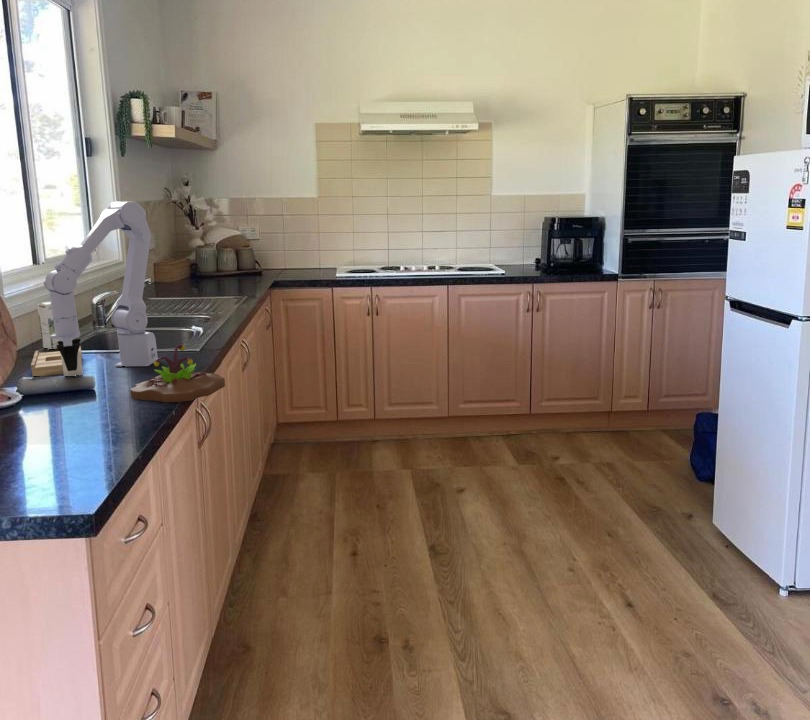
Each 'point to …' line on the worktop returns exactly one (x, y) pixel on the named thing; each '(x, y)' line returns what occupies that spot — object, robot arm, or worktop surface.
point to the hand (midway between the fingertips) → (72, 368)
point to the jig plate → (48, 363)
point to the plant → (177, 382)
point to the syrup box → (47, 325)
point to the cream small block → (75, 372)
